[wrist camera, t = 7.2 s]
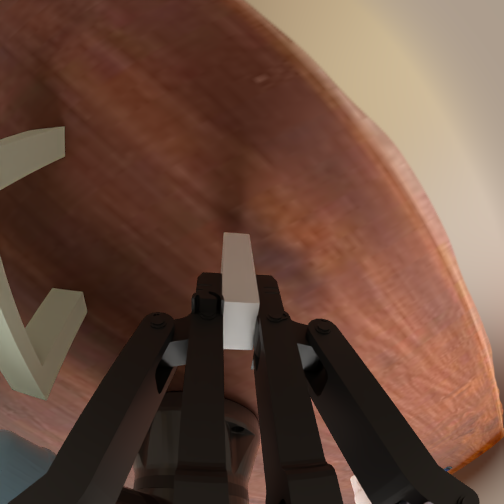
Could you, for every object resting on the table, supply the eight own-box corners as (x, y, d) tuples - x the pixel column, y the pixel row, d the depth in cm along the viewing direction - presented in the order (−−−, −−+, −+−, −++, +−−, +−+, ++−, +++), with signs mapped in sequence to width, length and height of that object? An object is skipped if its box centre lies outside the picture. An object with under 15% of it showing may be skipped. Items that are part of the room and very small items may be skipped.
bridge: (64, 126, 15) (-35, 160, 7) (87, 311, 22) (46, 400, 14) (29, 130, 15) (-68, 167, 7) (57, 307, 22) (12, 389, 14)
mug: (351, 516, 38) (390, 502, 36) (342, 478, 46) (378, 463, 44) (371, 516, 43) (404, 502, 41) (362, 484, 51) (393, 470, 49)
